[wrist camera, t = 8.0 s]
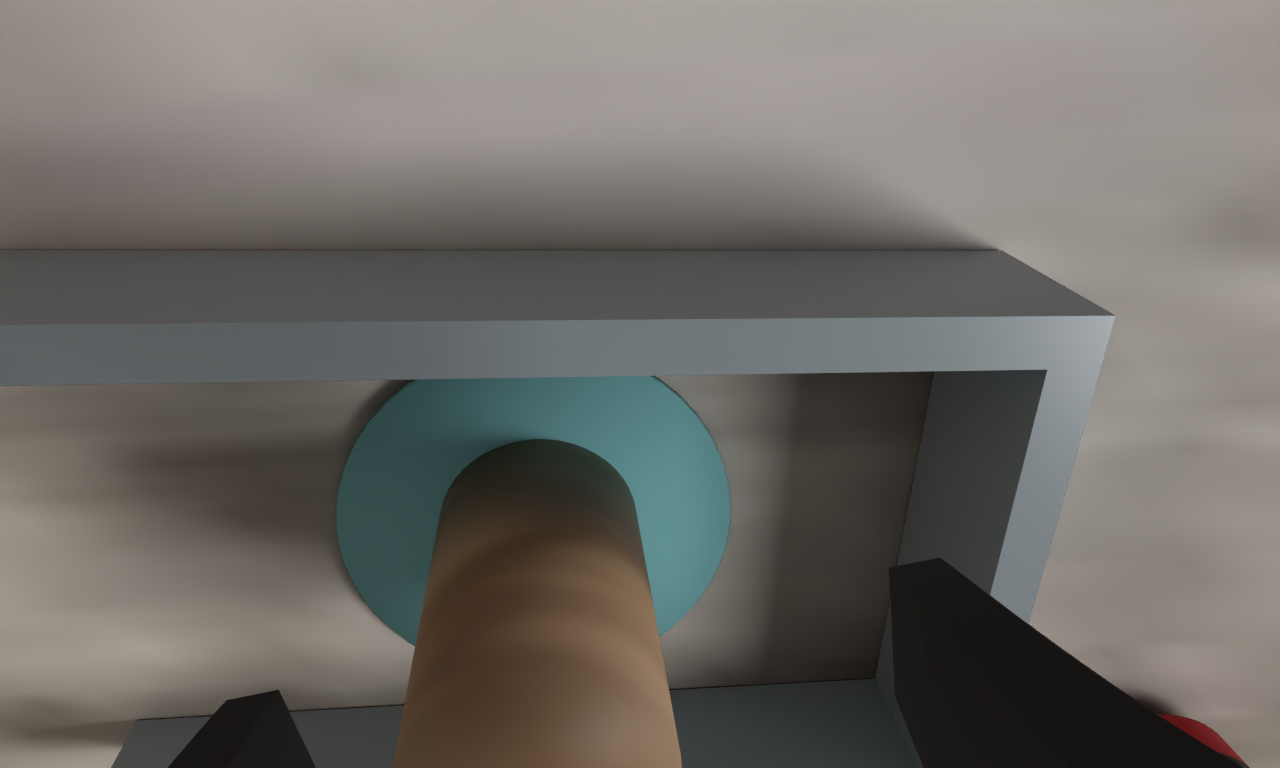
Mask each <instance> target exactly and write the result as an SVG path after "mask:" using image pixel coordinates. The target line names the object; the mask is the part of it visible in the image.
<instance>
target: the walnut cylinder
mask: <svg viewBox="0 0 1280 768" xmlns="http://www.w3.org/2000/svg"><path fill="white" fill-rule="evenodd" d="M393 768H682V763H681V753H680V748H679V742H678V737H677V731H676V726H675V720H674V715H673V709H672V704H671V698H670V693H669V687H668V682H667V676H666V671H665V666H664V660H663V655H662V649H661V644H660V638H659V633H658V627H657V622H656V616H655V611H654V605H653V600H652V594H651V589H650V583H649V578H648V572H647V567H646V562H645V556H644V551H643V545H642V540H641V534H640V529H639V523H638V518H637V512H636V507H635V503H634V499H633V496H632V494H631V491H630V489H629V487H628V485H627V484H626V482H625V480H624V479H623V477H622V476H621V475H620V474H619V473H618V471H617V470H616V469H615V468H614V467H613V466H612V465H611V464H609V463H608V462H607V461H606V460H604V459H603V458H602V457H600V456H599V455H597V454H595V453H593V452H591V451H590V450H588V449H586V448H583V447H580V446H577V445H575V444H571V443H567V442H563V441H557V440H548V439H533V440H524V441H518V442H513V443H509V444H506V445H503V446H500V447H497V448H495V449H493V450H491V451H489V452H487V453H485V454H483V455H481V456H480V457H478V458H477V459H475V460H474V461H472V462H471V463H470V464H469V465H468V466H466V467H465V468H464V469H463V470H462V471H461V472H460V473H459V475H458V476H457V477H456V478H455V479H454V481H453V482H452V484H451V486H450V487H449V489H448V491H447V493H446V495H445V498H444V500H443V504H442V507H441V512H440V517H439V522H438V528H437V533H436V538H435V544H434V549H433V554H432V560H431V565H430V571H429V576H428V581H427V587H426V592H425V597H424V603H423V608H422V613H421V619H420V624H419V630H418V635H417V640H416V646H415V651H414V656H413V662H412V667H411V673H410V678H409V683H408V689H407V694H406V699H405V705H404V710H403V715H402V721H401V726H400V732H399V737H398V742H397V748H396V753H395V758H394V764H393Z"/></svg>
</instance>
